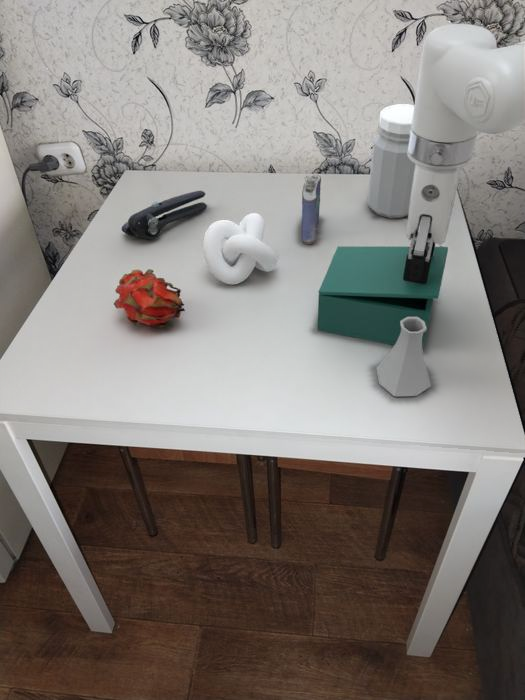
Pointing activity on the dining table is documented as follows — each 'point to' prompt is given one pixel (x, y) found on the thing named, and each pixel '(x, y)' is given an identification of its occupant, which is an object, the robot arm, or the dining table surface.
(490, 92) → the robot arm
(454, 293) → the dining table surface
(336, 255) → the lunchbox lid
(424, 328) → the flask
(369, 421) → the dining table surface
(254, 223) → the white decorative knot
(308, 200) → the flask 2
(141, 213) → the can opener
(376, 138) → the jar
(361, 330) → the box
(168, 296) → the dragon fruit
